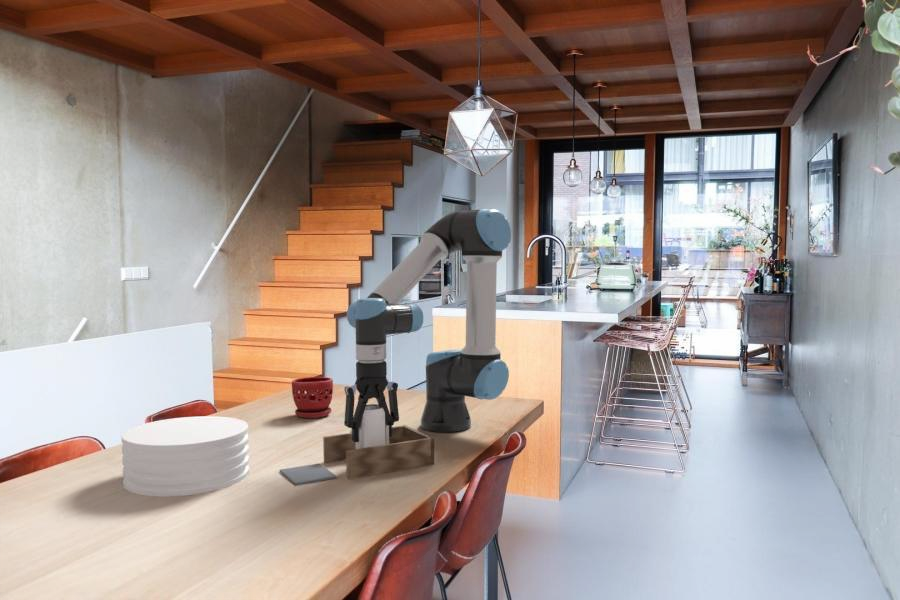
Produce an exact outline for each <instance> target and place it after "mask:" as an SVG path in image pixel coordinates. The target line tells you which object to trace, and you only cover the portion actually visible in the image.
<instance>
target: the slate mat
mask: <svg viewBox="0 0 900 600" xmlns="http://www.w3.org/2000/svg"><path fill="white" fill-rule="evenodd" d="M279 473H280V474H282V475H283V476H284V477H285V478H286V479H288V481H290V482H291V483H292V484H293V485H295V486H299V485H300V486H301V485H305V484H310V483H311V484H312V483H317V482H318V483H319V482H322V481H328V480H334V479H338V476H337V474H335V473H333V472H332V471H331V470H329V469H328V468H326V467H325V466H324V465H322V464H321V463H314V464H307V465H302V466H301V465H300V466H296V467H288V468H282V469H279Z"/></svg>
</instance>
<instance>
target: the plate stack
mask: <svg viewBox="0 0 900 600" xmlns="http://www.w3.org/2000/svg"><path fill="white" fill-rule="evenodd" d="M248 432H249V424H248V422H246V421H245V420H242V419H240V418H234V417H229V416H216V415H215V416H213V415H212V416H211V415H209V416H208V415H207V416H206V415H205V416H203V415H202V416H200V415H199V416H198V415H197V416H184V417H174V418H167V419H159V420H155V421H150V422H146V423H143V424H139V425H136V426H133V427H131V428H128V429H127V430H125V431H124V432H123V433H122V434H121V443H122V446H121V453H122V461H121V463H122V465H123V467H122V476H123V479H122V486H123V488H124V489H125V490H126V491H128V492H130V493H133V494H137V495H141V496H147V497H182V496H191V495H197V494H198V495H199V494H204V493H209V492H214V491H218V490H221V489H224V488H225V489H226V488H228V487H230V486H233V485H236V484H239V483H240V482H241V481H242V480H243V481H244V480H245V479H246V478H247V477H248V476H249V473H250V465H249V464H250V456H249V452H250V451H249V450H250V449H249V444H248V443H249V434H248Z"/></svg>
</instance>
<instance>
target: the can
mask: <svg viewBox="0 0 900 600" xmlns="http://www.w3.org/2000/svg"><path fill="white" fill-rule="evenodd" d="M359 428H360V429H362V433H363V448H367V447H373V446H380V445H385V412H384V409H383V407H380V406H379V405H378V403H375V404H373V403H371V404H366V407H365V410H364V414H363V417H362V421H361V424H360V427H359Z"/></svg>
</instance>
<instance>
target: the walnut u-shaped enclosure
mask: <svg viewBox="0 0 900 600" xmlns="http://www.w3.org/2000/svg"><path fill="white" fill-rule="evenodd" d="M322 439H323V441H322V442H323V443H322V444H323V445H322V446H323V448H322V449H323V463H324V464H327V463H328V464H329V463H333V462H334V463H336V462H340V461H341V462H342V461H346V479H347V480H351V478H352V479H356V478H362V477H368V476H373V475H374V476H375V475H379V474H384V473H391V472H395V471H402V470H408V469H413V468H418V467H419V468H420V467H423V466H431V465H434V464H435V437H432V436H430V435H428V434H425V433H423V432H421V431H419V430H416V429H414V428H412V427H410V426H407V425H405V424H404V425H398V426H392V436H391V437H389V444H386V445H380V446H373V447H367V448H360V449H356V447H355V442H353V440H352V433H350V432H348V433H341V434H334V435H327V436H323V438H322Z"/></svg>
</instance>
